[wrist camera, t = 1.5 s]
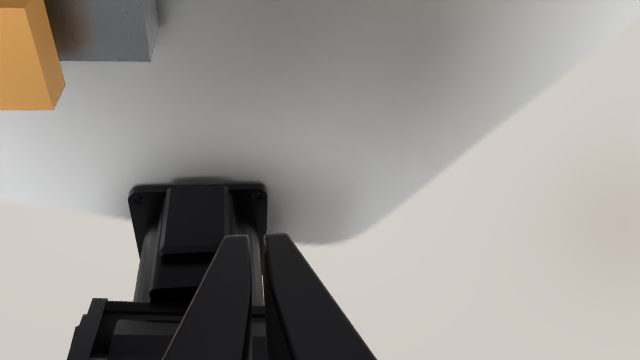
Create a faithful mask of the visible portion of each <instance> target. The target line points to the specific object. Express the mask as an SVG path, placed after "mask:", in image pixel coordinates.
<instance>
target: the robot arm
mask: <svg viewBox="0 0 640 360" xmlns="http://www.w3.org/2000/svg"><path fill="white" fill-rule="evenodd" d="M254 193H260V195H253V194H254ZM138 196H139V197H142V198H144V199H138V198H136V197H138ZM128 203H129V208H130V213H131V218H132V223H133V227H134V232H135V238H136V242H137V247H138V252H139V257H140V264H139V270H138V276H137V282H136V289H135V295H134V301H133V302H127V301H108V299H107V298H106V299H105V298H93V299H92V302H91V305H90V308H89V310H88V313H87V314H84V315H83V317H82V319H81V322H80V325H79V326H77V327H76V328H75V332H74V335H73V339H72V343H71V347H70V351H69V354H68V358H67V360H377V359H376V358H375V356H374V355H373V353H372V352H371V351H370V349H369V348H368V346H367V345H366V343H365V342H364V341H363V339H362V338H361V336H360V335H359V334H358V332H357V331H356V330H355V328H354V327H353V325H352V324H351V322H350V321H349V320H348V318H347V317H346V315H345V314H344V313H343V312H342V310H341V309H340V307H339V306H338V304H337V303H336V301H335V300H334V299H333V297H332V296H331V294H330V293H329V292H328V290H327V289H326V287H325V286H324V285H323V283H322V282H321V280H320V279H319V278H318V276H317V275H316V273H315V272H314V271H313V269H312V268H311V266H310V265H309V264H308V262H307V261H306V259H305V258H304V257H303V255H302V254H301V252H300V251H299V250H298V248H297V247H296V245H295V244H294V243H293V241H292V240H291V238H290V237H289V236H288V235H287V234H286V233H268V234H266V229H267V190H266V187H265V186H264V185H262V184H224V185H190V186H155V187H136V188H133V189H132V190H131V191H130V192H129V197H128ZM262 275H263V285H262ZM263 288H264V298H263Z"/></svg>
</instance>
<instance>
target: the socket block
mask: <svg viewBox="0 0 640 360" xmlns="http://www.w3.org/2000/svg"><path fill="white" fill-rule="evenodd" d="M44 4H45V8H46V12H47V16H48V20H49V24H50V28H51V31H52V35H53V39H54V43H55V47H56V51H57V55H58V59H59V61H140V62H151V58H152V54H153V49H154V45H155V41H156V37H157V33H158V29H159V22H158V14H157V5H156V0H44Z"/></svg>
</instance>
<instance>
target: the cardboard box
mask: <svg viewBox="0 0 640 360" xmlns="http://www.w3.org/2000/svg"><path fill="white" fill-rule="evenodd" d="M64 87H65V82H64V78H63V74H62V70H61V66H60V62H59V59H58V55H57V51H56V47H55V43H54V39H53V35H52V31H51V28H50V24H49V20H48V16H47V12H46V8H45V4H44V0H0V110H53V109H54V107H55V105H56V103H57V101H58V99H59V97H60V95H61V93H62V91H63V89H64Z"/></svg>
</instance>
